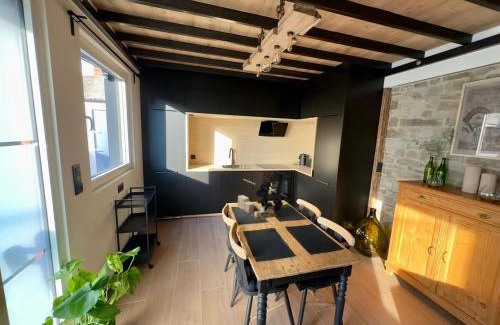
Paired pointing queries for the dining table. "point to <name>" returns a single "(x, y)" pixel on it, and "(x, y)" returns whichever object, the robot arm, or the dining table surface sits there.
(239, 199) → the stack of blocks
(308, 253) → the dining table surface
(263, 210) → the sage block
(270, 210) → the maple block
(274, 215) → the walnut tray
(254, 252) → the dining table surface
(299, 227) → the dining table surface
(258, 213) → the maple block
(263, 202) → the robot arm
